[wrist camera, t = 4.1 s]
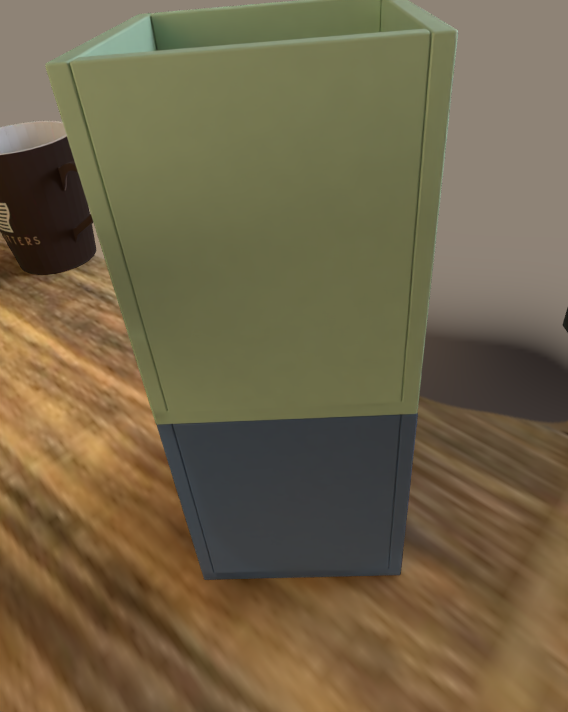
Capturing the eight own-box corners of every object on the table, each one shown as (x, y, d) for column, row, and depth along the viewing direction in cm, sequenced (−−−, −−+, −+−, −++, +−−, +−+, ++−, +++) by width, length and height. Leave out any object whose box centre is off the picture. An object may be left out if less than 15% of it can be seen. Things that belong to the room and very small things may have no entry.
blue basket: (377, 431, 28) (383, 279, 23) (400, 575, 22) (418, 414, 16) (224, 437, 29) (194, 290, 23) (204, 580, 22) (156, 425, 17)
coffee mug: (-1, 253, 48) (-52, 137, 42) (93, 225, 52) (58, 114, 46) (24, 309, 40) (-34, 177, 34) (134, 273, 44) (99, 145, 37)
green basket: (383, 279, 23) (396, -9, 16) (417, 414, 16) (459, 29, 10) (193, 290, 23) (137, 14, 17) (155, 425, 17) (43, 63, 11)
